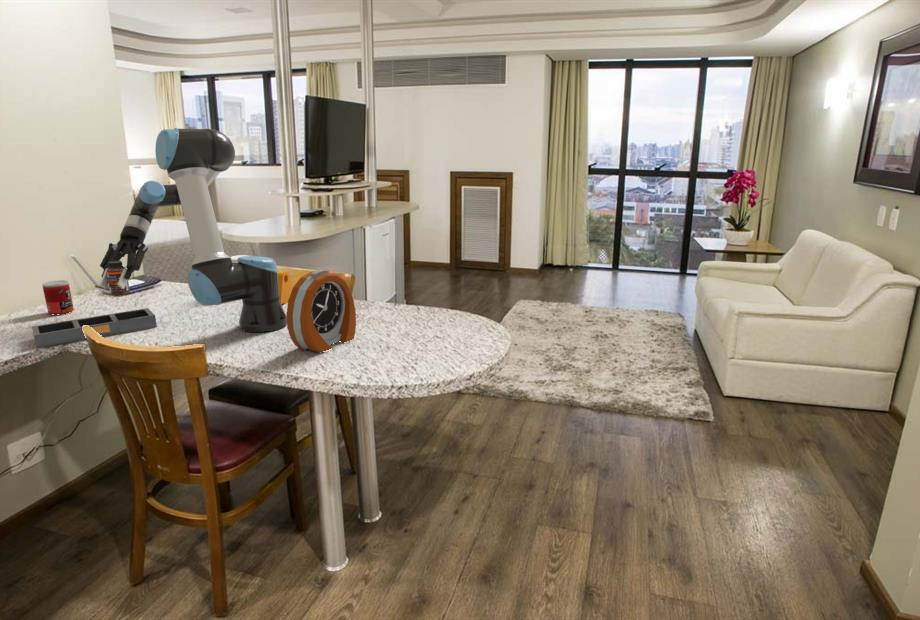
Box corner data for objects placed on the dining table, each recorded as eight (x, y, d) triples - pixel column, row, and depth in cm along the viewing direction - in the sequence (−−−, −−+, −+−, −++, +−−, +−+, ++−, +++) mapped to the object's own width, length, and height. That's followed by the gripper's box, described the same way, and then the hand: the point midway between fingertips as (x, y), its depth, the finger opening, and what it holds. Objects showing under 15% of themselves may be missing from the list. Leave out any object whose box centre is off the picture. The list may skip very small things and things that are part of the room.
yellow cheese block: (277, 298, 232) (274, 267, 229) (294, 298, 231) (291, 268, 227) (263, 305, 222) (260, 274, 218) (281, 306, 221) (278, 274, 217)
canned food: (65, 315, 210) (59, 285, 207) (43, 315, 210) (36, 285, 207) (79, 309, 218) (73, 280, 215) (57, 309, 218) (51, 280, 215)
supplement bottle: (108, 296, 203) (102, 263, 200) (112, 292, 208) (106, 260, 205) (128, 294, 204) (122, 262, 201) (131, 290, 210) (126, 259, 207)
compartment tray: (157, 327, 197) (155, 315, 196) (36, 348, 178) (33, 335, 177) (149, 319, 206) (148, 308, 205) (34, 338, 187) (31, 326, 186)
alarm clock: (314, 357, 170) (308, 280, 164) (288, 352, 175) (281, 276, 168) (362, 335, 189) (358, 265, 182) (338, 330, 193) (333, 262, 187)
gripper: (165, 237, 215) (143, 292, 204) (117, 237, 217) (93, 291, 206) (153, 224, 208) (130, 281, 197) (104, 224, 211) (78, 280, 200)
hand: (111, 286), depth 202 cm, fingers closed on supplement bottle, 6 cm apart
